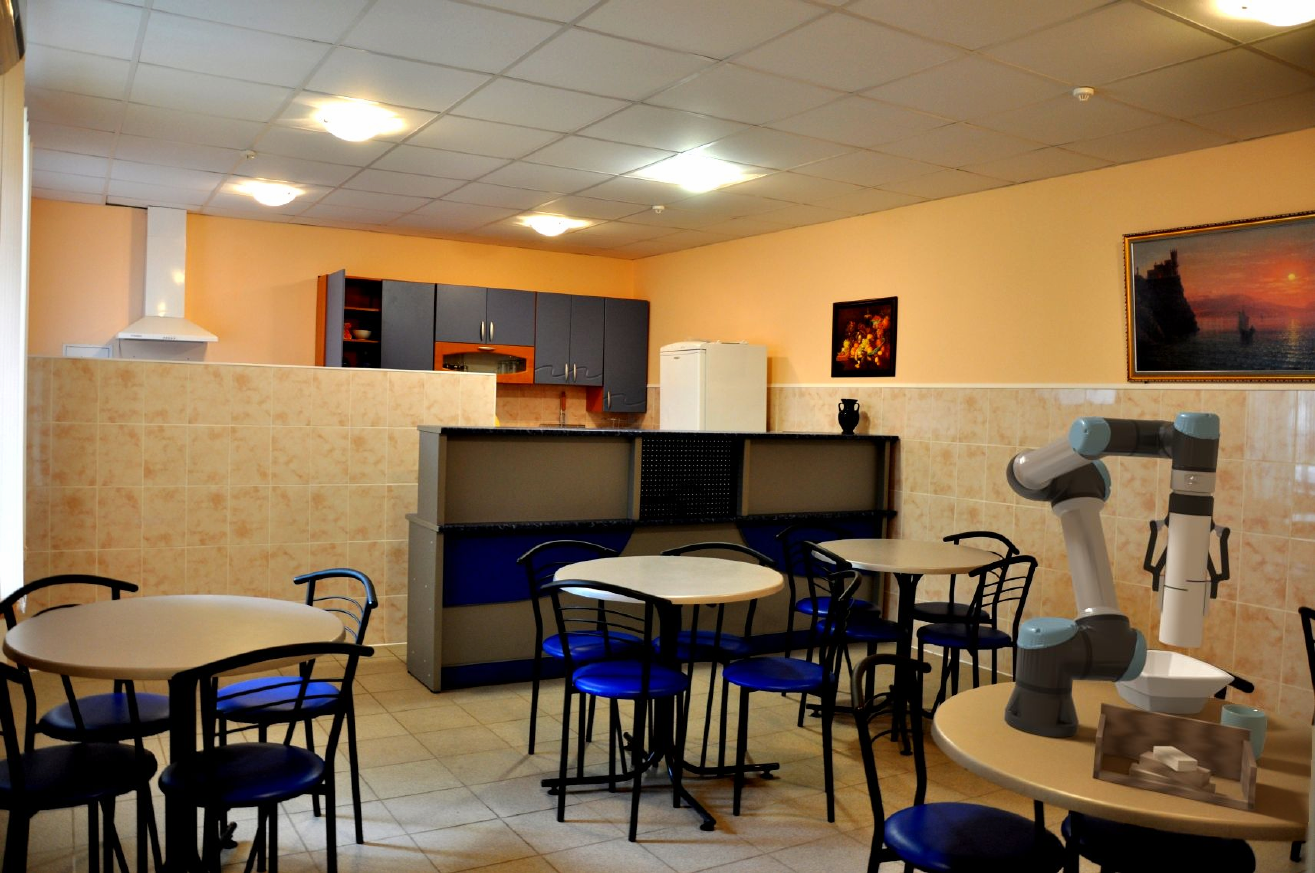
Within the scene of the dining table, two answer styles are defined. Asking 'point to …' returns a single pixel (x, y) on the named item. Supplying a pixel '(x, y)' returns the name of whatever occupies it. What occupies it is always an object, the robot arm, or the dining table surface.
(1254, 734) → the cup
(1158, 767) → the offcut middle
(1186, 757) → the offcut top
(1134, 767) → the offcut bottom
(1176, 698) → the bowl
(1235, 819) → the dining table surface
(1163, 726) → the rack
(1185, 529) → the cylindrical container
